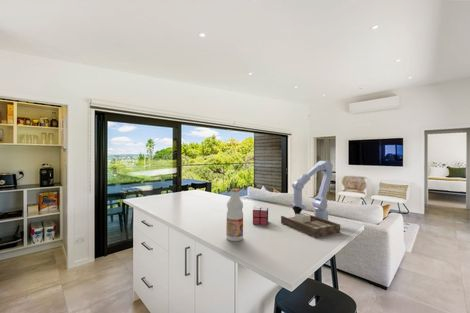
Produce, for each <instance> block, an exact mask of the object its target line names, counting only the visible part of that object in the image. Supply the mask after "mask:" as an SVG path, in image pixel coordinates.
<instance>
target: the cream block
mask: <svg viewBox="0 0 470 313" xmlns="http://www.w3.org/2000/svg"><path fill="white" fill-rule="evenodd" d="M304 213H305V212H301V213H300V214H295V213H294V217H295V220H296V221H299V222H302V223H304V222H310V215H311V214H309V215H307V214H308V213H306V214H304Z"/></svg>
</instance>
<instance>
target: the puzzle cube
mask: <svg viewBox="0 0 470 313" xmlns="http://www.w3.org/2000/svg"><path fill="white" fill-rule="evenodd" d="M268 223H269V207H265V206H264V207H263V206H262V207H261V206H254V207H253V209H252V225H257V224H258V225H259V226H268Z"/></svg>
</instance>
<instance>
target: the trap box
mask: <svg viewBox="0 0 470 313" xmlns="http://www.w3.org/2000/svg"><path fill="white" fill-rule="evenodd" d="M303 213H304V214H307V215H310V222H304V223H302V222H299V221H296V220H295V216H291V217H287V216H284V215H280V224H282V225H284V226H287V227H289V228H291V229H294V230H296V231H297V232H301V233H303V234H306V235H308V236H309V237H312V238H315V239H316V238H320V237H321V238H322V237H325V236H326V237H327V236H330V235H331V236H332V235H335V234H340V233H341V223H340V224H339V223H337V222H334V221H331V220H329V219H328V220H324V219H321V218H318V217H315V216H314V215H311V214H308V213H305V212H303Z"/></svg>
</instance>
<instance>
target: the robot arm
mask: <svg viewBox="0 0 470 313" xmlns="http://www.w3.org/2000/svg"><path fill="white" fill-rule="evenodd" d="M333 167H334V166H333V164H332V162H331V161H330V160H319V161H317V162H316V163H315V165H313V167H312V168H311V169H310V170H309V171H308V172H307V173H302V174H301V176H300V177H298V178H297V179H296V180H294V181H293V182H292V184H291V186H292V190H293V201H292V202H289V206H292V209H293V212H294V215H295V214H300V213H302V211H303V210H307V206H306V205H304V204H303V189H304V187H305V185H306V184H307V183H308V182H309V181H311V177H312V176H314V175H315V174H316V173H317V172H319V171H321V172H322V174H323V177H322V179H321V184H320V185H319V186H320V187H319V189H318V194H317V195H316V196H315V197H314V199H313V201H312V202H311V203H312V207H313V209H314V210H313V216H315V217H318V218H321V219H324V220H328V221H329V211H328V209H327V208H328V199H327V195H328V191H329V187H330V184H331V181H332V177H333Z"/></svg>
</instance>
